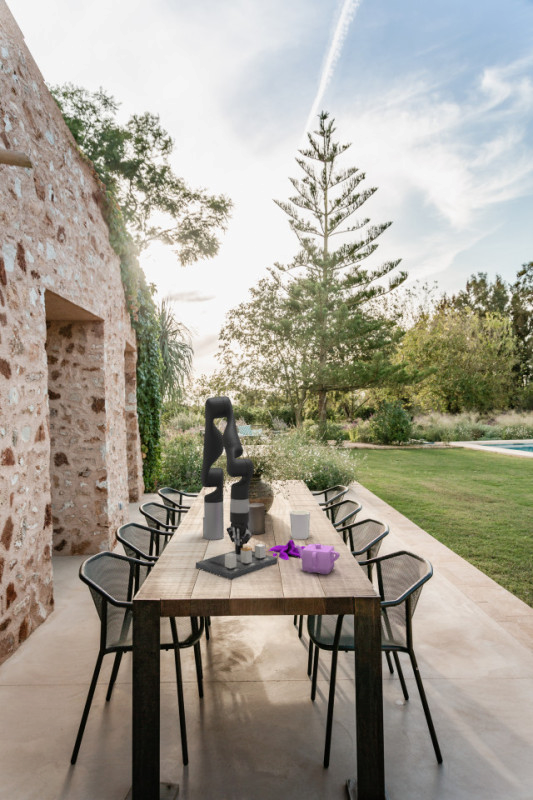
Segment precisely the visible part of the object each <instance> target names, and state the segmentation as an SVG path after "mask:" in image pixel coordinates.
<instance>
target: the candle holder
mask: <svg viewBox="0 0 533 800" xmlns="http://www.w3.org/2000/svg"><path fill="white" fill-rule="evenodd" d="M289 519H290V521H289V523H290V535H291V539H293V538H294V540H297V539H304V540H308V539H309V538H310V527H311V525H310V523H311V521H310V520H311V511H309V510H305V509H295V510H291V511H289ZM307 538H308V539H307Z"/></svg>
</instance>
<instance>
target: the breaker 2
mask: <svg viewBox="0 0 533 800" xmlns="http://www.w3.org/2000/svg"><path fill="white" fill-rule="evenodd" d="M254 552H255V557H257V558H263V557H266V555H267V554H266V552H267V551H266V544H262V543H258V544H255V545H254Z"/></svg>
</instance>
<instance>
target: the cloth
mask: <svg viewBox="0 0 533 800" xmlns="http://www.w3.org/2000/svg"><path fill="white" fill-rule="evenodd" d="M294 545H296V544H295V541H294V540H293V539H290V540H289V541H288V542H287V543H286V544H285V545H283V544H281V545H275V546H273V547H270V548H269V550H268V552H269V551H274V552H272V557H277V556H278V558H280V559H281V560H285V561H289V560H290V558H289V555H290V557H291V556H292V557H295V556H296V558H298V557H299V558H298V559H300V554H299V551H298V548H297V547H296V546H294ZM300 547H301V549H302V550H303V549H304V548H305V547H306V546H304V545H301V546H300ZM277 554H278V555H277Z"/></svg>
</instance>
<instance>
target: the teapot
mask: <svg viewBox="0 0 533 800" xmlns="http://www.w3.org/2000/svg"><path fill="white" fill-rule="evenodd" d="M294 546H295V547H297V548H298V551H299V554H300V558H301V559H300V558H299V559H300V560H301V571H303V572H307V573H308V574H313V573H316V574H317V573H318V574H320V575H322V576H323V575H329V574H330V573H331V572H332V570H333V569H335V562H336V561H337V560H338V559H339V558H340V553H339V552H338V551H336V550H335V546H333V545H325V544H324V545H323V544H321V543H313V544H312V543H309V544H307V545H306V546H305V548H304V549H303V550H302V549H301V546H300V545H299V544H295V545H294Z"/></svg>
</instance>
